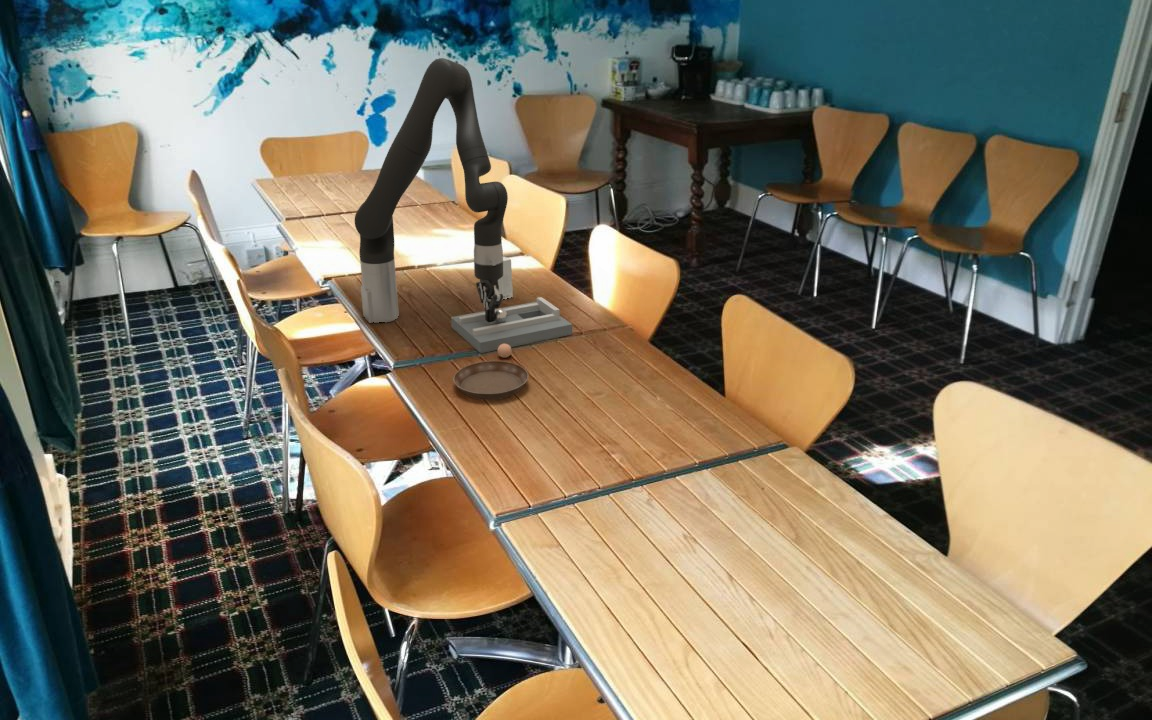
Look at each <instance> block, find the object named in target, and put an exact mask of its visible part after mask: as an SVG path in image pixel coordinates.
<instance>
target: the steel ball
mask: <svg viewBox="0 0 1152 720" xmlns="http://www.w3.org/2000/svg"><path fill="white" fill-rule="evenodd" d="M507 318H508V314H507V312H506V311H505V310H504V309H499V308H497V310H495V322H497V323H504V322H505V321H506V320H507Z"/></svg>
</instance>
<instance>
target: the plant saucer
mask: <svg viewBox="0 0 1152 720" xmlns="http://www.w3.org/2000/svg"><path fill="white" fill-rule="evenodd" d="M452 379H453V383H454V385H455V386H456V387H457V388H458V389H459V391H460V392H462V393H463V394H464V395H466V396H467V397H470V398H472V399H475V398H476V400H481V399H482V400H481V401H483V400H484V401H494V400H495V401H496V399H497V400H503V399H507V398H509V397H512V396H513V395H515V394H517V393H518V392H520V390H521V389H523V387H524V386H525V385H526V383H527V382H528V379H529V372H528V371H527V369H525V367H523V366H522V365H519V364H517V363H513V362H509V361H503V360H486V361H480V362H479V361H478V362H474V363H471V364H467V365H465V366H463V367H462V368H460V369H459V370H457V371H456V372H455V374H454V375H453V378H452ZM502 398H503V399H502Z"/></svg>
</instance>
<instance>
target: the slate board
mask: <svg viewBox="0 0 1152 720" xmlns="http://www.w3.org/2000/svg"><path fill="white" fill-rule="evenodd" d="M535 300H536V301H533V302H527V303H522V304H517V305H511V306H510V305H509V306H505V307H499V308H497V309H504V310H505V311H506V312H507V314H508V318H507V320H506V321H505V322H504V323H497V322H495V321H494V322H487V321H486V320H485V310H483V311H478V312H473V313H467V314H461V315H456V316H452V317H450V323H451V329H453V330H454V331H455V332H456V333H457V334H458V335H460V336H461V337H462V339H464V340H465V341H466V342H467V343H468V344H469V345H471V347H473V348H474V349H475V350H476V351H477V352H478V353H479V354H484V353H488V352H489V353H490V352H494V351H497V350H498V347H499V346H500V345H501V344H508V345H509V346H510V347H511V348H513V347H518V346H523V345H527V344H528V345H529V344H532V343H537V342H543V341H547V340H553V339H557V338H562V337H566V336H571V335H573V323H571V322H570V321H568V320H567V319H565V318H564V317H562V316H561V315H560V314H561V313H560V312H561V310H560V309H559V308H558V307H557V306H555V305H554V304H552V303H551V302H549V301H548V300H546V299H545V298H543V297H542V296H540V297H536V299H535ZM497 309H495V310H497Z"/></svg>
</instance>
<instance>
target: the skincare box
mask: <svg viewBox="0 0 1152 720" xmlns="http://www.w3.org/2000/svg"><path fill="white" fill-rule="evenodd" d="M512 271H513V270H512V259H511V258H508V257H507V256H504V255H503V276H502V278H500V279H499V280H498V285H499V291H498V292H499V294H503V299H505V300H508V299H507V298H509V299H512V298H514V290H513V276H512V275H513V273H512ZM511 297H512V298H511ZM503 299H502V301H504V300H503Z"/></svg>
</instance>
